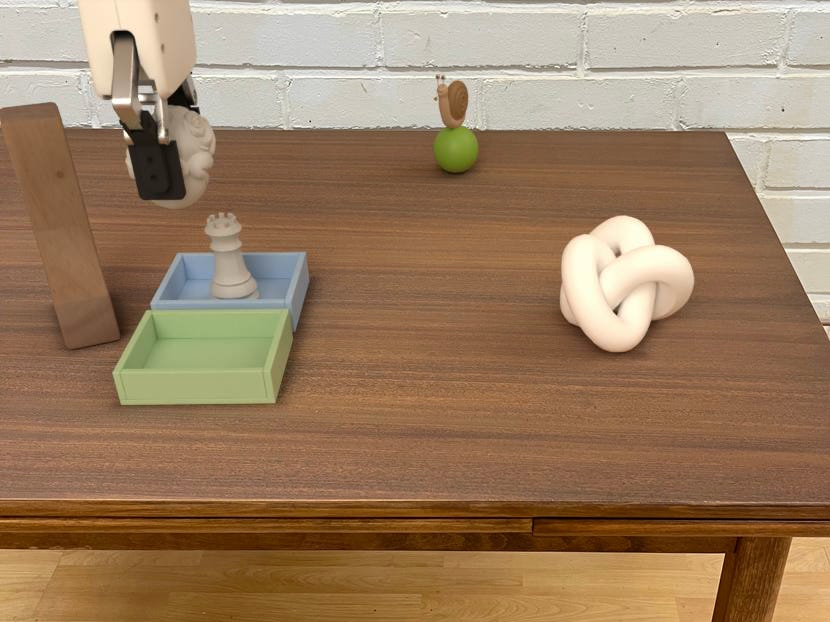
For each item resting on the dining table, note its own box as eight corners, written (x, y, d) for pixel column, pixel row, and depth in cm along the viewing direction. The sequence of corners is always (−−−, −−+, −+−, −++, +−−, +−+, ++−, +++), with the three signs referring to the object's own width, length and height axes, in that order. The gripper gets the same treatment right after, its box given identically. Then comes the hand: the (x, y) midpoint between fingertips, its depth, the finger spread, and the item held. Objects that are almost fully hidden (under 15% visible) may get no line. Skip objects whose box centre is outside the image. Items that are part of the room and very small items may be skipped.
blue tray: (157, 333, 84) (149, 303, 82) (183, 281, 92) (177, 252, 90) (295, 332, 84) (291, 301, 83) (309, 280, 92) (306, 251, 91)
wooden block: (121, 341, 83) (66, 132, 72) (67, 351, 82) (2, 140, 71) (108, 297, 90) (55, 99, 79) (58, 306, 88) (-3, 106, 77)
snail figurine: (422, 178, 114) (417, 72, 106) (446, 161, 118) (443, 58, 111) (462, 185, 112) (461, 78, 104) (486, 167, 116) (486, 63, 109)
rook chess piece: (270, 300, 88) (257, 217, 83) (229, 317, 86) (214, 233, 81) (241, 285, 90) (227, 204, 86) (201, 301, 88) (184, 218, 83)
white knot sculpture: (520, 311, 87) (523, 217, 82) (633, 286, 91) (642, 195, 86) (580, 370, 79) (588, 270, 74) (701, 340, 83) (717, 243, 78)
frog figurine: (244, 198, 72) (229, 103, 68) (176, 230, 68) (155, 130, 63) (185, 182, 75) (167, 90, 70) (116, 212, 70) (92, 115, 66)
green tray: (120, 405, 75) (111, 372, 73) (153, 340, 83) (146, 309, 81) (275, 403, 75) (270, 371, 74) (293, 339, 83) (289, 308, 82)
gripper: (98, -121, 66) (154, 140, 77) (5, -83, 52) (88, 228, 63) (207, -122, 66) (247, 139, 77) (142, -84, 52) (202, 227, 63)
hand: (175, 177), depth 70 cm, fingers closed on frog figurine, 6 cm apart
